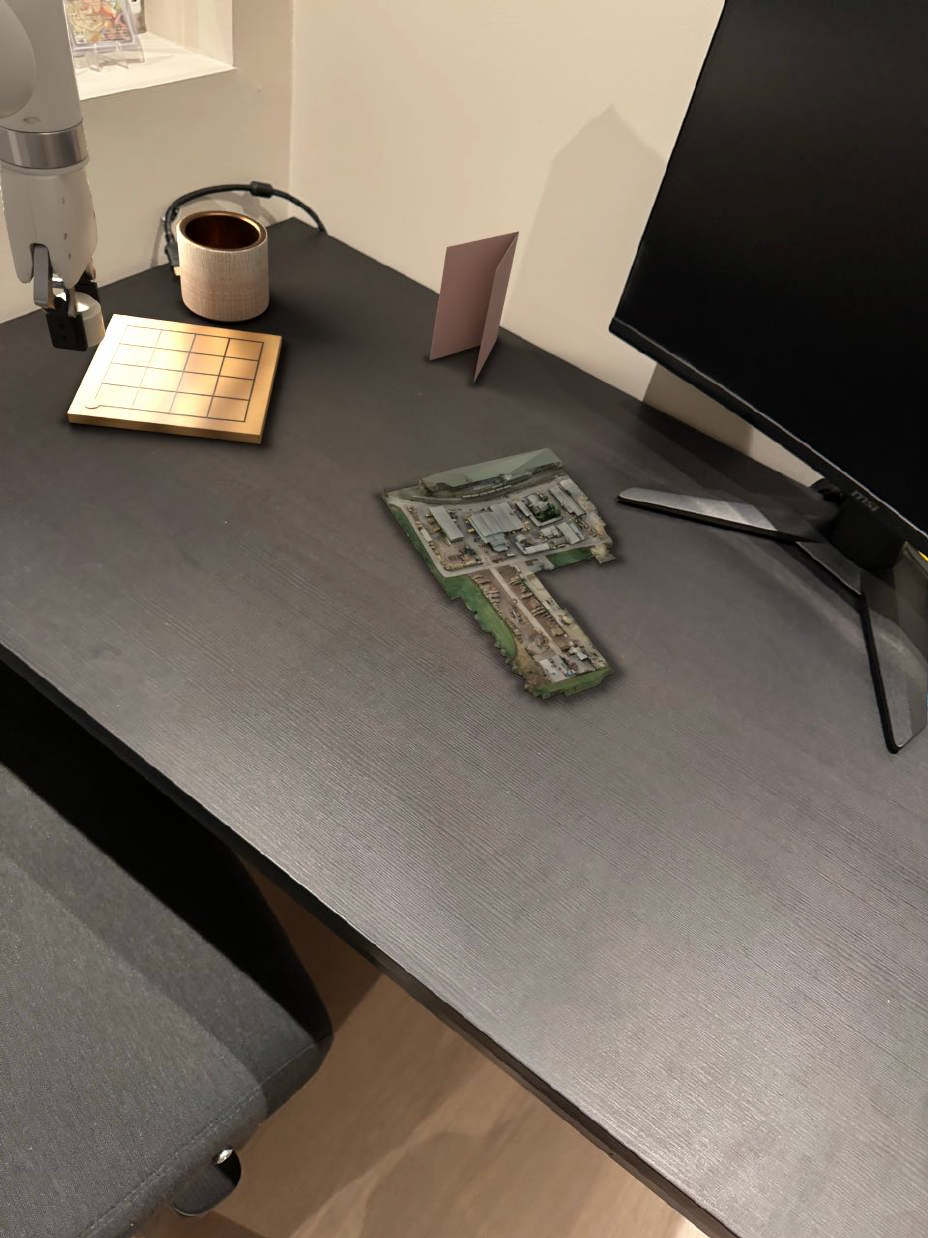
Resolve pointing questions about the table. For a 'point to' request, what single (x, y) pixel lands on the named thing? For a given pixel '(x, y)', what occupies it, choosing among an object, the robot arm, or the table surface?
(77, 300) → the tan tin with lid
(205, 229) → the planter
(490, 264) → the greeting card
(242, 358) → the board
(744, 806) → the table surface
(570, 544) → the model
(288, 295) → the table surface
